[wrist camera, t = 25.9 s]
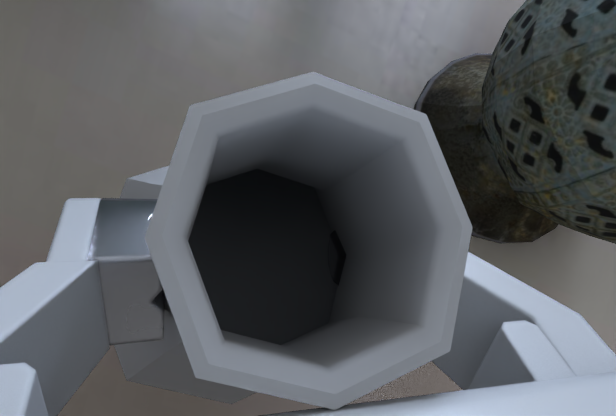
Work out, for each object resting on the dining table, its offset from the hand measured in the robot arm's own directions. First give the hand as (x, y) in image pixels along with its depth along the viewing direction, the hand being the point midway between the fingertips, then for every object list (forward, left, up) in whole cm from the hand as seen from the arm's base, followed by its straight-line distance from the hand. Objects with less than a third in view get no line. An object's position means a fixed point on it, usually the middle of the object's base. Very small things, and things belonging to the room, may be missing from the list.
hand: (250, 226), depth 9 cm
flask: (0, -1, -6) cm, 6 cm away
